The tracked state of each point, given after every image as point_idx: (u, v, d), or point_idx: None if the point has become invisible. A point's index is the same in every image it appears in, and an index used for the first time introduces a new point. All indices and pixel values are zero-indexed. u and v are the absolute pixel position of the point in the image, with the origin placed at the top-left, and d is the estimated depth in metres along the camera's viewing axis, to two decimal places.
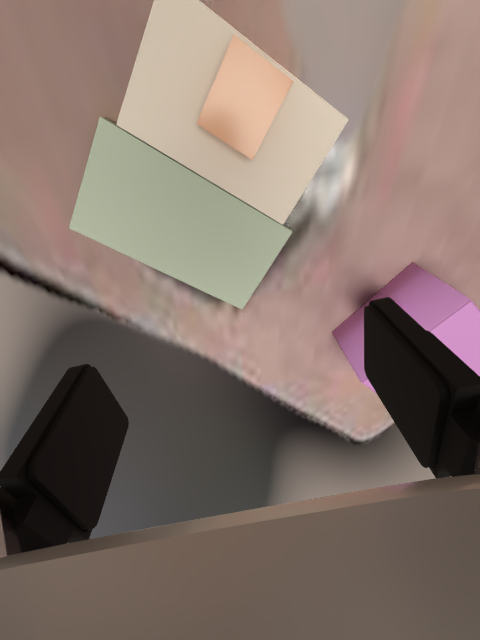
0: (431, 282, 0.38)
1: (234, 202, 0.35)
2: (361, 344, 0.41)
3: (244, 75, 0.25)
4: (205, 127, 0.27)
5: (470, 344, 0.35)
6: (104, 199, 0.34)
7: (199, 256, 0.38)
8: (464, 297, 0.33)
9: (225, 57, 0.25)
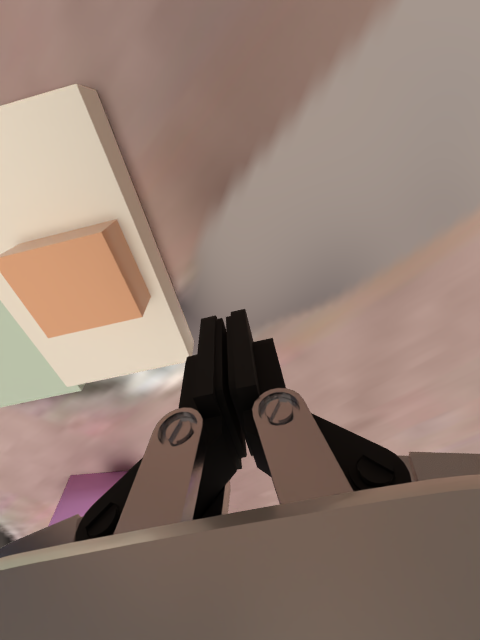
0: None
1: None
2: None
3: (89, 271, 0.18)
4: (2, 271, 0.18)
5: None
6: None
7: None
8: None
9: (76, 240, 0.17)
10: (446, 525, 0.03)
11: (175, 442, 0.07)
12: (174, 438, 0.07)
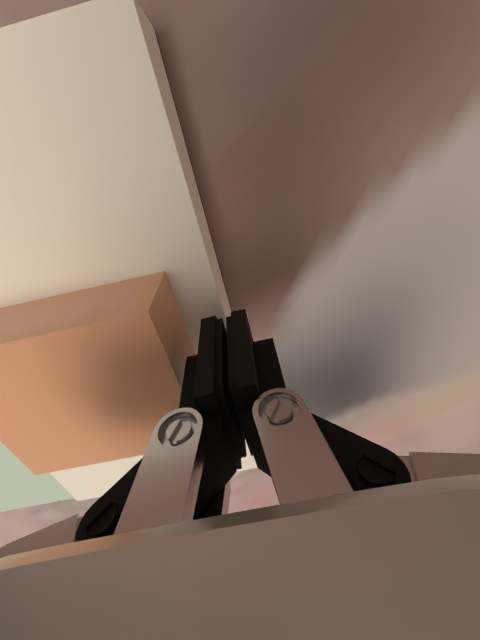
0: None
1: None
2: None
3: (117, 378, 0.09)
4: None
5: None
6: None
7: None
8: None
9: (95, 326, 0.08)
10: (446, 525, 0.03)
11: (175, 442, 0.07)
12: (174, 438, 0.07)
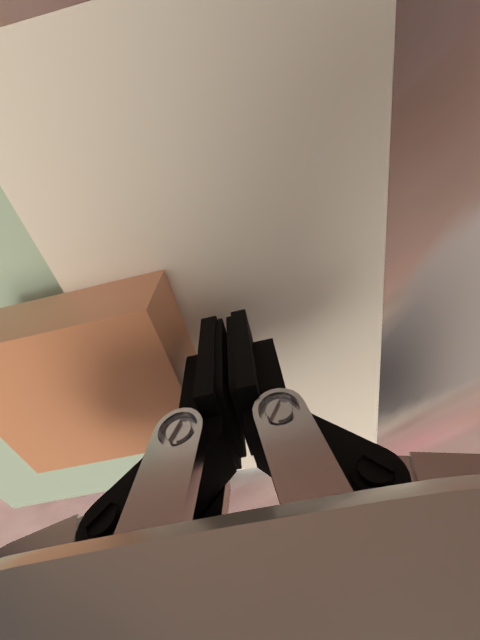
0: None
1: None
2: None
3: (117, 376, 0.09)
4: None
5: None
6: None
7: None
8: None
9: (93, 325, 0.08)
10: (446, 525, 0.03)
11: (175, 442, 0.07)
12: (174, 438, 0.07)
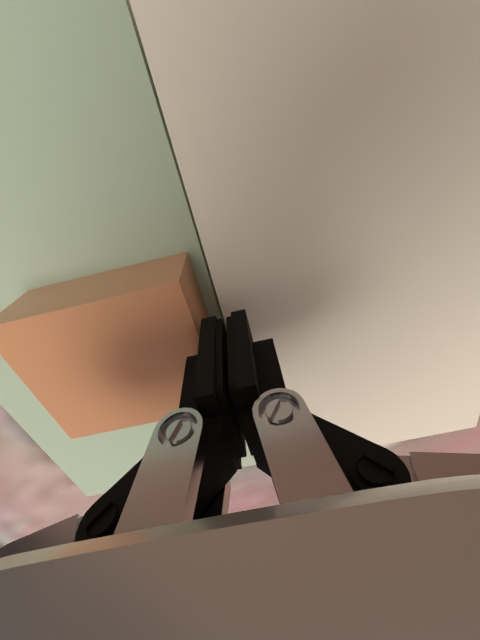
0: None
1: None
2: None
3: (149, 344, 0.11)
4: None
5: None
6: None
7: None
8: None
9: (132, 295, 0.10)
10: (446, 525, 0.03)
11: (175, 442, 0.07)
12: (174, 438, 0.07)
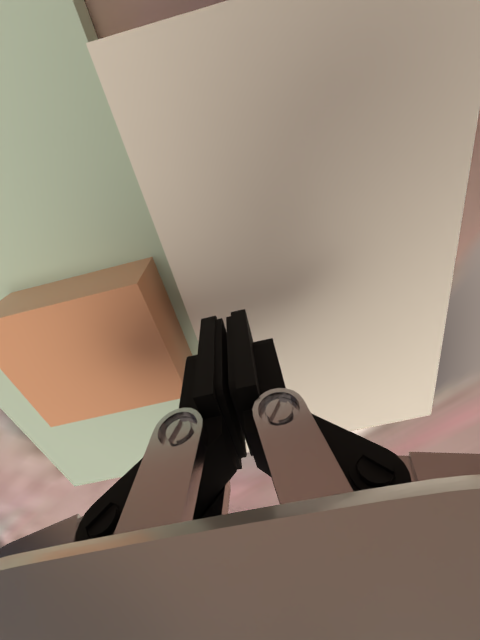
0: None
1: None
2: None
3: (115, 339, 0.12)
4: None
5: None
6: None
7: None
8: None
9: (97, 296, 0.11)
10: (446, 525, 0.03)
11: (175, 442, 0.07)
12: (174, 438, 0.07)
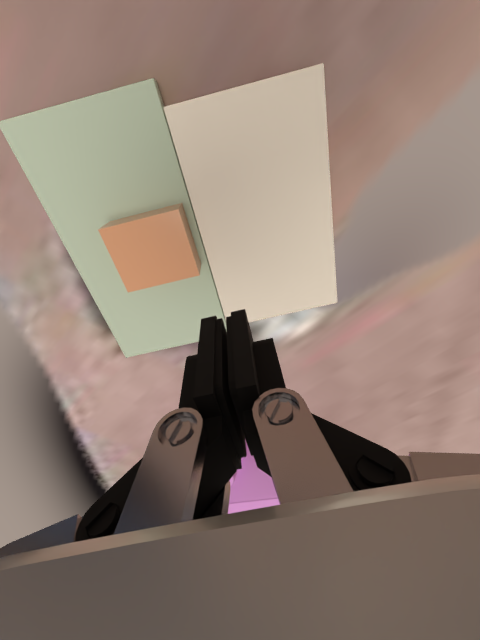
0: None
1: (205, 272, 0.30)
2: None
3: (166, 238, 0.25)
4: (104, 239, 0.25)
5: None
6: (77, 144, 0.24)
7: None
8: None
9: (160, 215, 0.24)
10: (446, 525, 0.03)
11: (175, 442, 0.07)
12: (174, 438, 0.07)
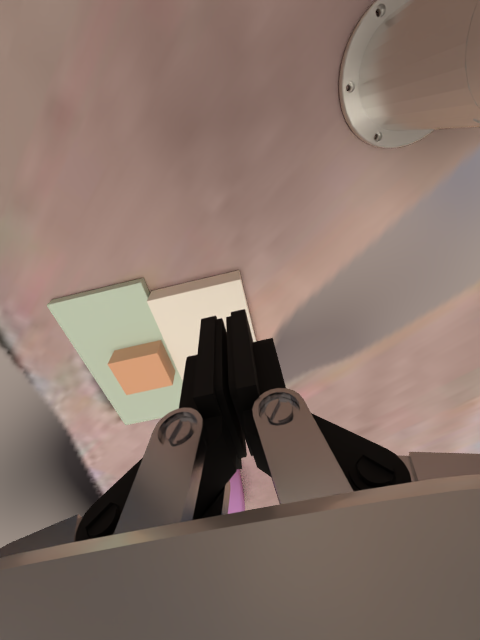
0: (234, 488, 0.55)
1: (178, 375, 0.45)
2: None
3: (150, 367, 0.40)
4: (111, 368, 0.40)
5: None
6: (94, 313, 0.39)
7: None
8: None
9: (145, 356, 0.39)
10: (446, 525, 0.03)
11: (175, 442, 0.07)
12: (174, 438, 0.07)
